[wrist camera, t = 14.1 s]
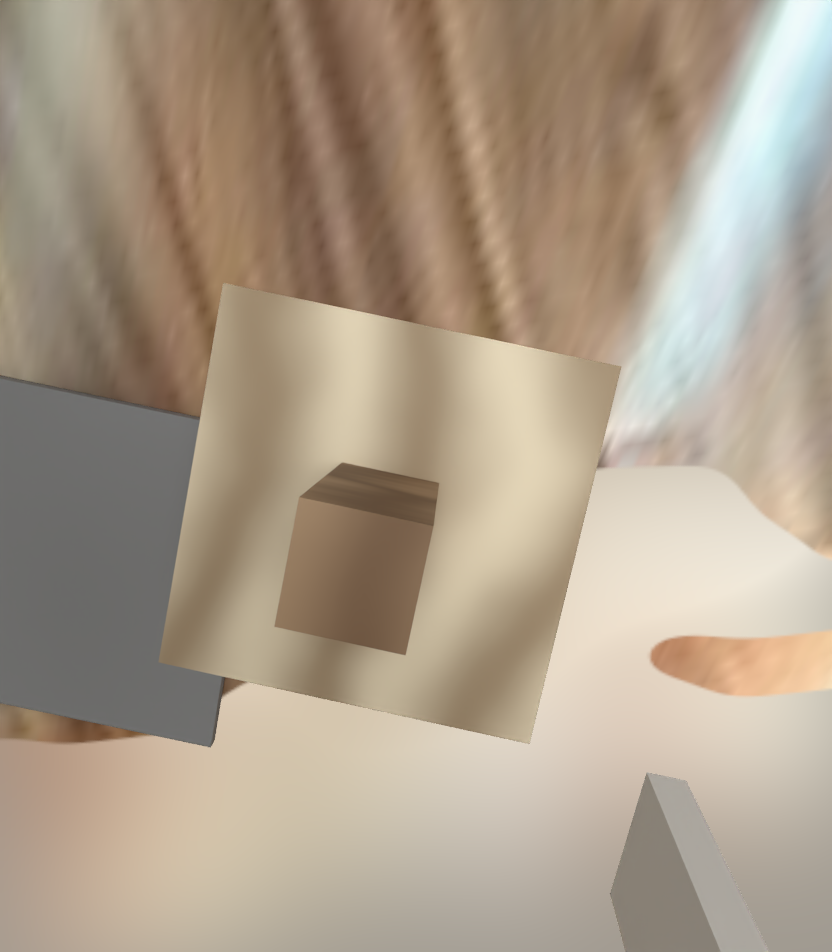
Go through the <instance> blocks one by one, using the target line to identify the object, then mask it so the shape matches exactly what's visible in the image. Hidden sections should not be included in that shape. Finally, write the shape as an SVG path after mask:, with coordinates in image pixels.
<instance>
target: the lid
mask: <svg viewBox="0 0 832 952" xmlns="http://www.w3.org/2000/svg"><path fill="white" fill-rule="evenodd" d="M620 370H621V366H616V365H611V364H606V363H602V362H597V361H592V360H587V359H583V358H578V357H573V356H568V355H563V354H559V353H554V352H549V351H544V350H540V349H535V348H530V347H525V346H521V345H516V344H511V343H506V342H502V341H497V340H492V339H487V338H483V337H478V336H473V335H468V334H464V333H459V332H454V331H449V330H445V329H440V328H435V327H430V326H426V325H421V324H416V323H411V322H407V321H402V320H397V319H392V318H388V317H383V316H378V315H373V314H369V313H364V312H359V311H354V310H350V309H345V308H340V307H335V306H331V305H326V304H321V303H316V302H312V301H307V300H302V299H297V298H293V297H288V296H283V295H278V294H273V293H269V292H264V291H259V290H254V289H250V288H245V287H240V286H235V285H231V284H226V283H223V288H222V293H221V299H220V305H219V311H218V317H217V323H216V329H215V334H214V340H213V346H212V352H211V358H210V364H209V370H208V375H207V381H206V387H205V393H204V399H203V405H202V410H201V416H200V422H199V428H198V434H197V440H196V446H195V451H194V457H193V463H192V469H191V475H190V481H189V487H188V492H187V498H186V504H185V510H184V516H183V522H182V528H181V533H180V539H179V545H178V551H177V557H176V563H175V568H174V574H173V580H172V586H171V592H170V598H169V604H168V609H167V615H166V621H165V627H164V633H163V639H162V645H161V650H160V656H159V663H164V664H168V665H173V666H177V667H182V668H186V669H191V670H196V671H200V672H205V673H209V674H214V675H218V676H223V677H227V678H232V679H236V680H241V681H245V682H250V683H255V684H260V685H264V686H268V687H273V688H277V689H282V690H286V691H291V692H295V693H300V694H305V695H309V696H314V697H318V698H323V699H327V700H332V701H336V702H341V703H346V704H350V705H355V706H359V707H364V708H368V709H373V710H377V711H382V712H387V713H391V714H395V715H400V716H404V717H409V718H414V719H419V720H423V721H427V722H432V723H436V724H441V725H445V726H450V727H455V728H459V729H463V730H468V731H473V732H477V733H482V734H486V735H491V736H496V737H500V738H504V739H509V740H514V741H518V742H523V743H528V744H529V743H530V739H531V735H532V731H533V727H534V723H535V719H536V715H537V711H538V707H539V702H540V698H541V694H542V690H543V686H544V682H545V678H546V674H547V669H548V666H549V661H550V657H551V653H552V649H553V645H554V640H555V637H556V633H557V628H558V624H559V620H560V616H561V612H562V608H563V604H564V600H565V596H566V592H567V588H568V583H569V579H570V575H571V571H572V566H573V563H574V559H575V555H576V551H577V546H578V542H579V538H580V534H581V530H582V526H583V522H584V518H585V514H586V509H587V505H588V501H589V497H590V493H591V489H592V485H593V481H594V476H595V472H596V468H597V464H598V460H599V456H600V452H601V448H602V444H603V440H604V436H605V431H606V427H607V423H608V419H609V415H610V411H611V407H612V403H613V399H614V394H615V390H616V386H617V382H618V378H619V374H620Z"/></svg>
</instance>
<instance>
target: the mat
mask: <svg viewBox="0 0 832 952" xmlns="http://www.w3.org/2000/svg"><path fill="white" fill-rule="evenodd" d="M199 422H200V417H196V416H191V415H186V414H182V413H177V412H172V411H167V410H162V409H158V408H153V407H148V406H143V405H139V404H134V403H129V402H124V401H119V400H115V399H110V398H105V397H100V396H96V395H91V394H86V393H81V392H76V391H72V390H67V389H62V388H57V387H53V386H48V385H43V384H38V383H33V382H29V381H24V380H19V379H14V378H10V377H5V376H0V703H2V704H7V705H12V706H17V707H21V708H26V709H31V710H36V711H40V712H45V713H50V714H55V715H59V716H64V717H69V718H74V719H78V720H83V721H88V722H93V723H97V724H102V725H107V726H112V727H116V728H121V729H126V730H131V731H135V732H140V733H145V734H150V735H155V736H159V737H164V738H169V739H174V740H178V741H183V742H188V743H193V744H197V745H202V746H208V747H211V746H212V744H213V742H214V740H215V734H216V727H217V721H218V715H219V709H220V702H221V697H222V691H223V685H224V678H225V677H223V676H218V675H214V674H209V673H205V672H200V671H196V670H191V669H186V668H182V667H177V666H173V665H168V664H164V663H159V656H160V650H161V645H162V639H163V633H164V627H165V621H166V615H167V609H168V604H169V598H170V592H171V586H172V580H173V574H174V568H175V563H176V557H177V551H178V545H179V539H180V533H181V528H182V522H183V516H184V510H185V504H186V498H187V492H188V487H189V481H190V475H191V469H192V463H193V457H194V451H195V446H196V440H197V434H198V428H199Z"/></svg>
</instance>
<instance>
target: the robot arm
mask: <svg viewBox="0 0 832 952" xmlns="http://www.w3.org/2000/svg"><path fill="white" fill-rule="evenodd" d="M610 895H611V899H612V903H613V906H614V910H615V914H616V918H617V921H618V925H619V929H620V933H621V936H622V940H623V944H624V948H625V951H626V952H769V950H768V948H767V946H766V944H765V942H764V940H763V937H762V935H761V933H760V932H759V929H758V927H757V925H756V923H755V921H754V919H753V917H752V915H751V913H750V911H749V909H748V907H747V905H746V903H745V901H744V898H743V896H742V895H741V893H740V890H739V889H738V886H737V884H736V882H735V880H734V878H733V876H732V874H731V872H730V870H729V868H728V866H727V864H726V861H725V860H724V857H723V855H722V853H721V851H720V849H719V847H718V845H717V843H716V841H715V839H714V837H713V835H712V833H711V831H710V829H709V827H708V825H707V822H706V820H705V818H704V816H703V814H702V812H701V810H700V808H699V806H698V804H697V802H696V800H695V798H694V796H693V794H692V792H691V790H690V788H689V786H688V783H687V782H686V781H685V780H680V779H676V778H671V777H666V776H661V775H656V774H652V773H647V774H646V777H645V780H644V784H643V787H642V790H641V794H640V797H639V800H638V803H637V807H636V810H635V813H634V817H633V820H632V823H631V826H630V830H629V833H628V837H627V840H626V843H625V846H624V850H623V853H622V856H621V860H620V863H619V866H618V870H617V873H616V876H615V879H614V883H613V886H612V889H611V893H610Z"/></svg>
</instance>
